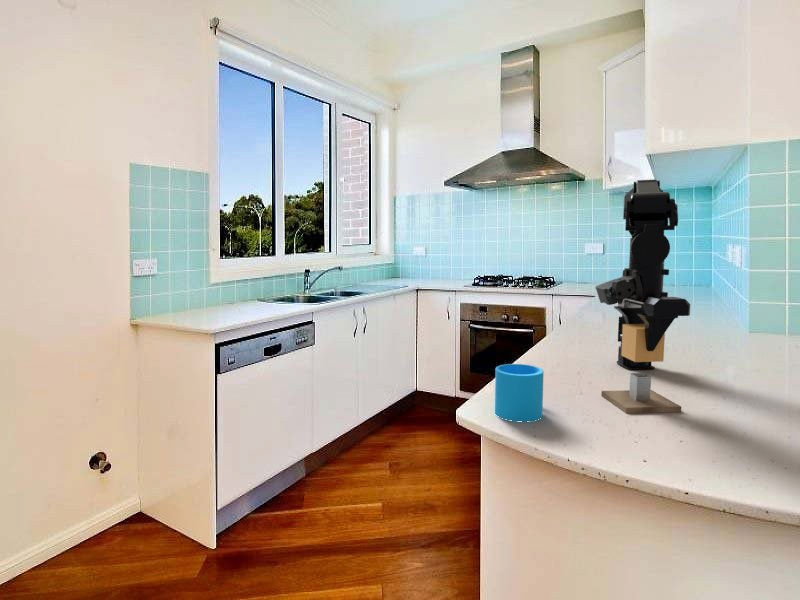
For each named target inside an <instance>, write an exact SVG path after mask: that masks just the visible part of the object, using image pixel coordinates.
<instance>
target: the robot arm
mask: <svg viewBox="0 0 800 600" xmlns="http://www.w3.org/2000/svg"><path fill="white" fill-rule="evenodd" d="M678 209H679V208H678V204H677V203H676V200H675V198H671V193H670V192H669V191H664V190H662V189H661V180H657V179H637V180H635V181H633V187H632V188H631V189H630V190H629V191H628V192H627V193H626V194H624V196H623V217H622V218H623V219H622V220H625V226H624V227H625V228H624V229H625V230H624V231H628V233H629V234H630V236H631V237H630V240H629V241H630V243H629V258H628V259H629V261H628V267H625V268H624V269H623V270H622V276H620V277H618V278H614V279H611V280H608V281H605V282H602V283H600V284H597V285H596V286H595V290H596V292H597V293H596V294H597V296H598V300H599V302H600V303H601V304H606V305H608V306H611V305H612V306H613V305H615V304H617V305H615V306H613V308H614V309H615V310H617V311H618V312H619V313H620V314H621V316H618V327H617V328H618V329H617V342H619V343H620V346H618V350H617V351H618V353H617V356H618V357H617V361H616V364H618V365H619V366H621V367H623V368H624V369H627V370H656V366H654V365H652V362H634V361H632V360H630V359H628V358H626V357H624V356H622V355H621V352H622V330H623V324H645V339H646V348H647V351H654V349H655V348H656V346H657V344H658V343H659V341H660V340H661V338H662V336H663V335H664V333H665V334H666V332H667V331H668V328H669V327H670V326H671V325H672V323H673V322H674V321H675V319H679V317H689V316H690V315H691V303H690V302H689V301H688V300H687V299H686V298H684V297H683V298H681V297H677V296H669V292H666V291H663V290H664V277H665V276H669V275H670V269H668V268H667V269H666V268H665V260H666V259H667V258H668V256H669V254H670V251H671V245H670V241H669V239H668V238H667V236H666V235H665V231H674V230H675V228H676V227H678V224H679V211H678Z"/></svg>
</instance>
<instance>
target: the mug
mask: <svg viewBox="0 0 800 600" xmlns="http://www.w3.org/2000/svg"><path fill="white" fill-rule="evenodd" d="M494 378H495V385H494V390H495V391H494V415H495V414H496V415H497V416H499V417H501V418H503V419H507V420H512V421H522V422H527V421H535V420H538V419H540V418H541V419H542V418H543V404H544V402H543V399H544V370H543V368H541V367H539V366H535V365H531V364H523V363H507V364H500V365H498V366H496V367H495V377H494ZM496 415H495V416H496ZM497 416H496V417H497ZM503 419H502V420H503ZM541 419H540V420H541ZM538 421H539V420H538ZM535 422H536V421H535Z"/></svg>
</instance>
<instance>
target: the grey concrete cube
mask: <svg viewBox="0 0 800 600" xmlns="http://www.w3.org/2000/svg"><path fill="white" fill-rule="evenodd" d="M629 374H630V375H629V376H630V377H629V390H630V392H629V396H630V397H631V398H633V399H634V400H636V401H644V400H650V391H651V390H652V389H651V386H652V376H650V375H648V374H647V373H645V372H631V373H629Z"/></svg>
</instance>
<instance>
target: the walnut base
mask: <svg viewBox="0 0 800 600" xmlns="http://www.w3.org/2000/svg"><path fill="white" fill-rule="evenodd" d="M629 392H630V389H629V390H628V389H627V390H601V392H600V393H601V397H602V398H604V399H605V400H606V401H608V402H609V403H611V404H612V405H613V406H614V407H617V408H618V409H619V410H620V411H622V412H624V413H625V414H641V413H642V414H643V413H647V414H648V413H649V414H651V413H657V414H658V413H682V406H681V405H679V404H677V403H676V402H674V401H673V400H671V399H668V398H667V397H665V396H663V395H662V394H660V393H658V392H656V391H654V390H652V389H651V391H650V400H644V401H636V400H634V399H633V398H631V397H630V396H629Z"/></svg>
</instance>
